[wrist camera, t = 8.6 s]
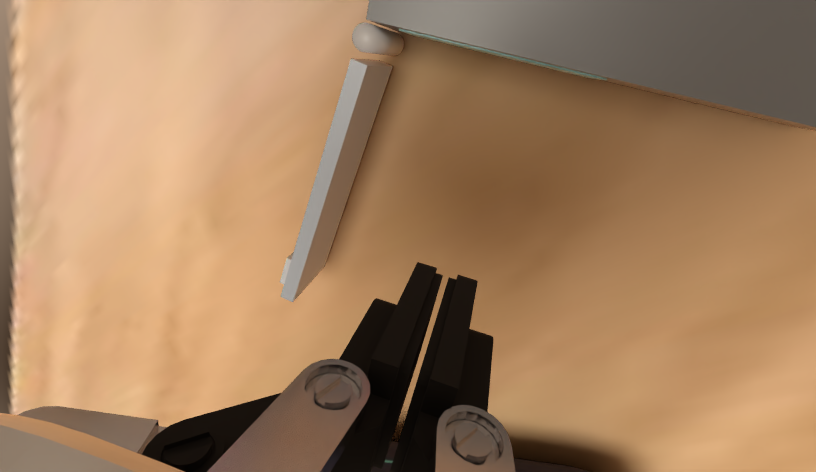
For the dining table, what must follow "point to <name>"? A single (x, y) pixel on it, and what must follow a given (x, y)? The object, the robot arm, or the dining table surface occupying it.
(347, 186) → the thin grey plank
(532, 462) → the portable speaker
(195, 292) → the dining table surface
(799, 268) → the dining table surface
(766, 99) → the camera body
